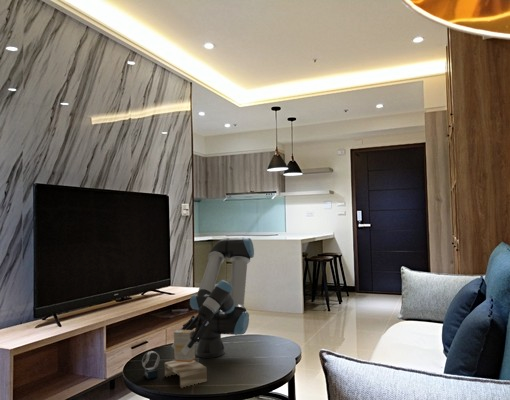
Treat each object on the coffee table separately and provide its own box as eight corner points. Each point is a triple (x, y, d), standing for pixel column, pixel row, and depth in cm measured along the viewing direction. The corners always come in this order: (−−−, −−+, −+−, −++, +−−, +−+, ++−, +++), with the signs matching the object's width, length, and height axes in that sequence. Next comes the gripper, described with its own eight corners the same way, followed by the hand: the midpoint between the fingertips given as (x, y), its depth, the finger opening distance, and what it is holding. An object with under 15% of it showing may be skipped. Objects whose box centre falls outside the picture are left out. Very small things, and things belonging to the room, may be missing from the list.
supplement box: (195, 359, 181) (194, 329, 182) (190, 362, 176) (189, 332, 177) (179, 357, 183) (178, 328, 184) (174, 361, 179) (173, 331, 180)
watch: (140, 376, 184) (140, 352, 184) (157, 372, 188) (157, 348, 189) (144, 380, 179) (143, 355, 180) (161, 376, 183) (161, 351, 184)
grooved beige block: (164, 376, 183) (164, 362, 184) (188, 369, 190) (188, 356, 191) (181, 388, 169) (181, 373, 169) (206, 381, 176) (206, 367, 176)
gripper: (225, 318, 181) (194, 361, 171) (202, 310, 199) (173, 350, 188) (215, 307, 178) (183, 351, 168) (192, 301, 196) (162, 340, 186)
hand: (178, 350), depth 178 cm, fingers closed on supplement box, 9 cm apart
